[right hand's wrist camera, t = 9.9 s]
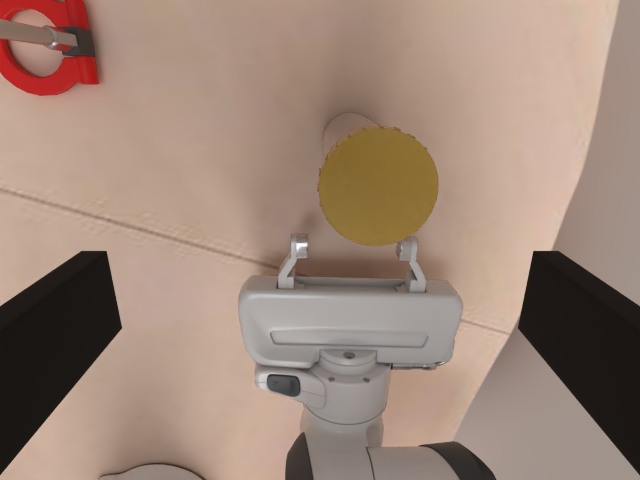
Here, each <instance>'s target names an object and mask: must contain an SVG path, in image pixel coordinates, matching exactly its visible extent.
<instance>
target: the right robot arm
mask: <svg viewBox="0 0 640 480" xmlns="http://www.w3.org/2000/svg"><path fill="white" fill-rule="evenodd" d="M121 329H122V326H121V321H120V316H119V311H118V306H117V301H116V296H115V291H114V286H113V281H112V276H111V271H110V266H109V261H108V256H107V251H81V252H79V253H78V254H77V255H75V256H74V257H72V258H71V259H69V260H68V261H66V262H65V263H63V264H62V265H60V266H59V267H57V268H56V269H54V270H53V271H51V272H50V273H49V274H47V275H46V276H44V277H43V278H41V279H40V280H38V281H37V282H35V283H34V284H32V285H31V286H29V287H28V288H26V289H25V290H23V291H22V292H21V293H19V294H18V295H16V296H15V297H13V298H12V299H10V300H9V301H7V302H6V303H4V304H3V305H1V306H0V475H1V474H2V472H3V471H4V470H5V469H6V468H7V466H8V465H9V464H10V463H11V462H12V460H13V459H14V458H15V457H16V455H17V454H18V453H19V452H20V451H21V449H22V448H23V447H24V446H25V445H26V443H27V442H28V441H29V440H30V439H31V437H32V436H33V435H34V434H35V433H36V431H37V430H38V429H39V428H40V427H41V425H42V424H43V423H44V422H45V420H46V419H47V418H48V417H49V416H50V414H51V413H52V412H53V411H54V410H55V408H56V407H57V406H58V405H59V404H60V402H61V401H62V400H63V399H64V398H65V396H66V395H67V394H68V393H69V392H70V390H71V389H72V388H73V387H74V385H75V384H76V383H77V382H78V381H79V379H80V378H81V377H82V376H83V375H84V373H85V372H86V371H87V370H88V369H89V367H90V366H91V365H92V364H93V363H94V361H95V360H96V359H97V358H98V357H99V355H100V354H101V353H102V352H103V350H104V349H105V348H106V347H107V346H108V344H109V343H110V342H111V341H112V340H113V338H114V337H115V336H116V335H117V334H118V332H119V331H120V330H121ZM518 329H519V330H520V331H521V332H522V334H523V335H524V336H525V337H526V338H527V340H528V341H529V342H530V343H531V344H532V346H533V347H534V348H535V349H536V350H537V352H538V353H539V354H540V355H541V357H542V358H543V359H544V360H545V361H546V362H547V364H548V365H549V366H550V367H551V369H552V370H553V371H554V372H555V373H556V375H557V376H558V377H559V378H560V379H561V381H562V382H563V383H564V384H565V385H566V387H567V388H568V389H569V390H570V391H571V393H572V394H573V395H574V396H575V398H576V399H577V400H578V401H579V402H580V404H581V405H582V406H583V407H584V408H585V410H586V411H587V412H588V413H589V414H590V416H591V417H592V418H593V419H594V420H595V422H596V423H597V424H598V425H599V426H600V428H601V429H602V430H603V431H604V433H605V434H606V435H607V436H608V437H609V438H610V440H611V441H612V442H613V443H614V445H615V446H616V447H617V448H618V449H619V451H620V452H621V453H622V454H623V455H624V457H625V458H626V459H627V460H628V461H629V463H630V464H631V465H632V466H633V468H634V469H635V470H636V471H637V472H638V474H639V475H640V306H639V305H637V304H636V303H634V302H633V301H631V300H630V299H628V298H627V297H625V296H624V295H622V294H621V293H619V292H618V291H617V290H615V289H614V288H612V287H611V286H609V285H608V284H606V283H605V282H603V281H602V280H600V279H599V278H597V277H596V276H594V275H593V274H591V273H590V272H589V271H587V270H586V269H584V268H583V267H581V266H580V265H578V264H577V263H575V262H574V261H572V260H571V259H569V258H568V257H566V256H565V255H563V254H562V253H561V252H559V251H533V256H532V261H531V266H530V271H529V276H528V281H527V286H526V291H525V296H524V301H523V306H522V311H521V316H520V321H519V326H518Z"/></svg>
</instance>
